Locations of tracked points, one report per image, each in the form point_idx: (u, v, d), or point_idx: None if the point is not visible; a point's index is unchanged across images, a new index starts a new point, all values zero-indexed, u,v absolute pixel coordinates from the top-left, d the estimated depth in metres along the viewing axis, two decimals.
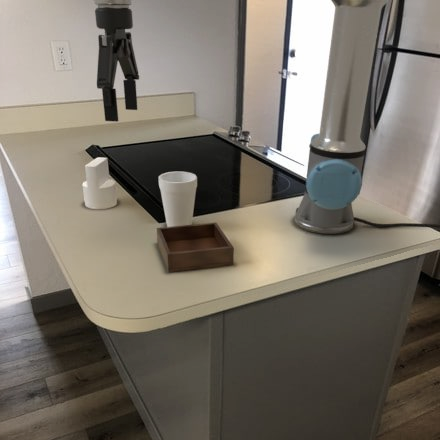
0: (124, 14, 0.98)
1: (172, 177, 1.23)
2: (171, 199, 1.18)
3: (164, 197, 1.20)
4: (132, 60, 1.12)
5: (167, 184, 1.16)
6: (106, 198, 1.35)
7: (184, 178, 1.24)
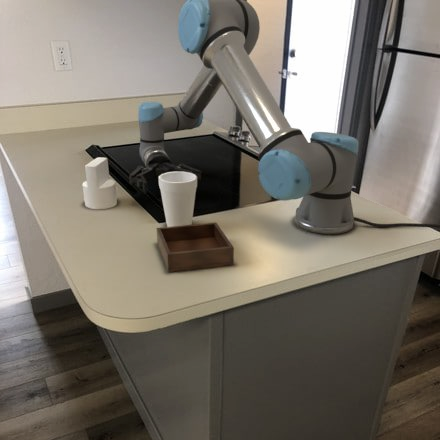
0: (150, 155, 1.45)
1: (172, 177, 1.23)
2: (171, 199, 1.18)
3: (164, 197, 1.20)
4: (189, 169, 1.40)
5: (167, 184, 1.16)
6: (106, 198, 1.35)
7: (184, 178, 1.24)
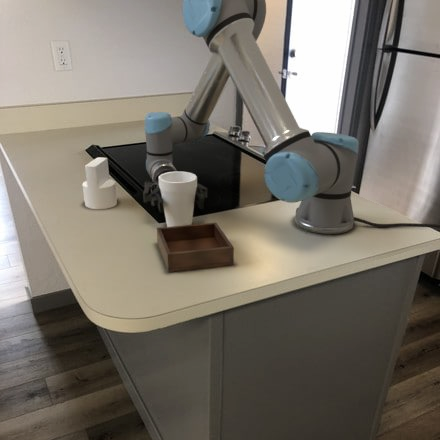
0: (158, 169, 1.34)
1: (172, 177, 1.23)
2: (171, 199, 1.18)
3: (164, 197, 1.20)
4: None
5: (167, 184, 1.16)
6: (106, 198, 1.35)
7: (184, 178, 1.24)
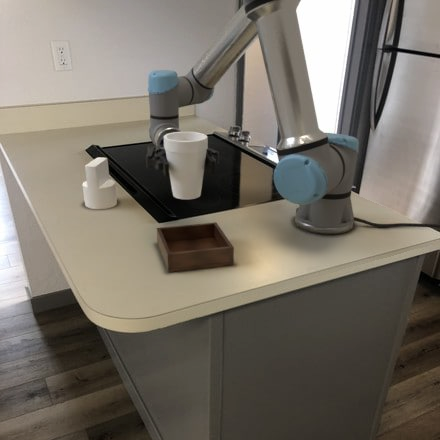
0: (163, 132, 1.19)
1: (179, 137, 1.08)
2: (178, 161, 1.03)
3: (170, 159, 1.04)
4: (206, 150, 1.14)
5: (174, 143, 1.01)
6: (106, 198, 1.35)
7: (193, 139, 1.08)
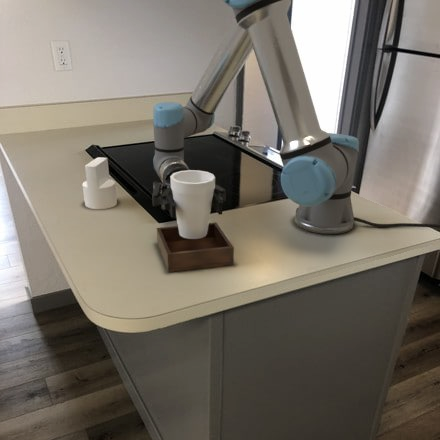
0: (168, 167, 1.18)
1: (185, 176, 1.07)
2: (185, 202, 1.02)
3: (177, 200, 1.03)
4: None
5: (181, 185, 1.00)
6: (106, 198, 1.35)
7: (200, 178, 1.07)
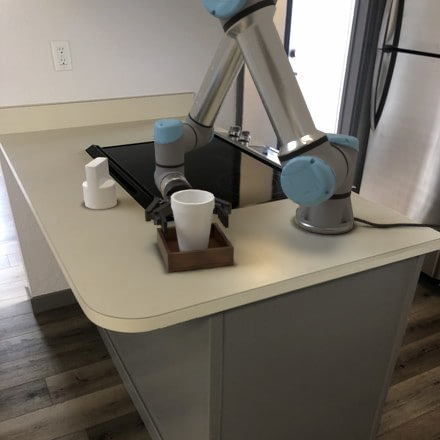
0: (169, 183, 1.20)
1: (185, 196, 1.09)
2: (185, 222, 1.04)
3: (177, 220, 1.05)
4: (217, 201, 1.15)
5: (182, 205, 1.02)
6: (106, 198, 1.35)
7: (200, 197, 1.09)
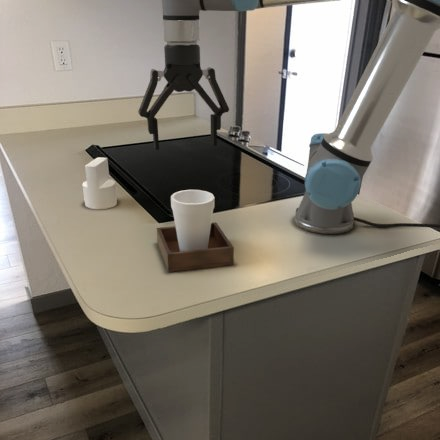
0: (174, 51, 0.99)
1: (185, 196, 1.09)
2: (185, 222, 1.04)
3: (177, 220, 1.05)
4: (217, 96, 1.08)
5: (181, 205, 1.02)
6: (106, 198, 1.35)
7: (200, 197, 1.09)
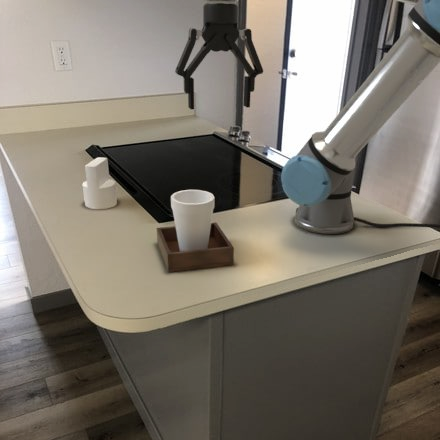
0: (214, 9, 1.02)
1: (185, 196, 1.09)
2: (185, 222, 1.04)
3: (177, 220, 1.05)
4: (252, 57, 1.11)
5: (181, 205, 1.02)
6: (106, 198, 1.35)
7: (200, 197, 1.09)
